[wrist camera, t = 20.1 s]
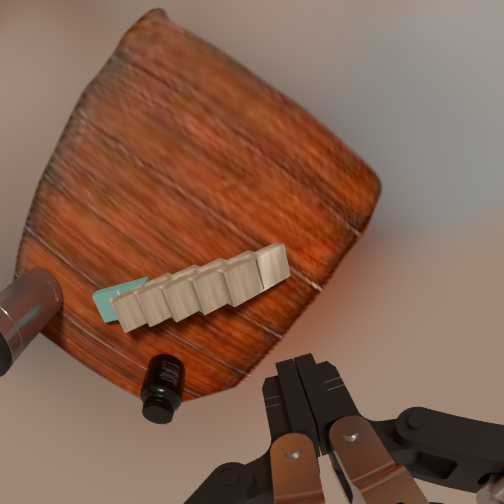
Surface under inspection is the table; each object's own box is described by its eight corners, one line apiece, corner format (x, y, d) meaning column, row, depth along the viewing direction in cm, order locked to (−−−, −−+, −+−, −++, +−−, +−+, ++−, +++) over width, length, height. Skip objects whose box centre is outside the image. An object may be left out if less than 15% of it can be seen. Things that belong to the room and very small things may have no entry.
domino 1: (159, 304, 43) (108, 316, 43) (148, 276, 41) (96, 290, 41) (157, 310, 41) (104, 322, 41) (144, 281, 40) (91, 296, 39)
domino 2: (179, 300, 43) (123, 327, 38) (168, 272, 41) (109, 299, 37) (184, 304, 41) (125, 333, 37) (172, 275, 40) (110, 303, 35)
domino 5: (255, 280, 43) (198, 310, 38) (247, 250, 42) (187, 278, 37) (263, 283, 42) (205, 315, 37) (255, 252, 40) (192, 282, 35)
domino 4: (229, 287, 43) (171, 317, 38) (220, 257, 42) (158, 286, 37) (236, 290, 41) (176, 322, 37) (226, 260, 40) (162, 290, 35)
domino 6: (281, 273, 43) (227, 303, 38) (274, 242, 42) (216, 270, 37) (290, 275, 42) (234, 307, 37) (283, 244, 40) (223, 273, 35)
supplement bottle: (141, 359, 46) (126, 406, 35) (172, 347, 46) (161, 396, 34) (163, 384, 48) (153, 431, 37) (192, 373, 48) (187, 422, 36)
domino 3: (204, 293, 43) (146, 322, 38) (194, 264, 42) (133, 292, 37) (210, 297, 41) (150, 327, 37) (199, 267, 40) (136, 296, 35)
